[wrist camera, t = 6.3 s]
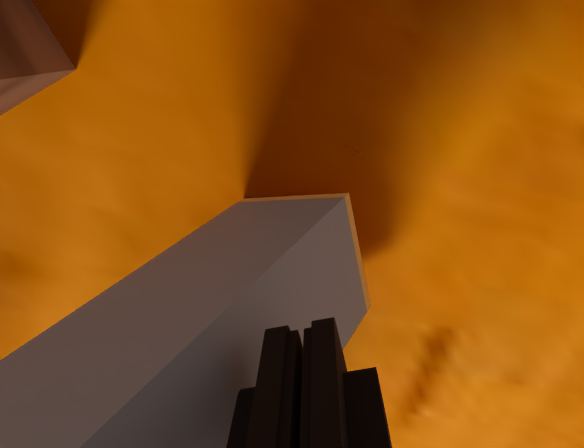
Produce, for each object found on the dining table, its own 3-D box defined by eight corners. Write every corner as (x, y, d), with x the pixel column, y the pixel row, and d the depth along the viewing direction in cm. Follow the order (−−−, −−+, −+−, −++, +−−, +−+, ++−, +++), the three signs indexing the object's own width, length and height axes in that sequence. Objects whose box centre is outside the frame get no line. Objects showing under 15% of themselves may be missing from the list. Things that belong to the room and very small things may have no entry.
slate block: (243, 198, 19) (-141, 454, 9) (349, 192, 17) (-5, 527, 7) (270, 298, 21) (-33, 614, 11) (370, 305, 19) (108, 718, 8)
